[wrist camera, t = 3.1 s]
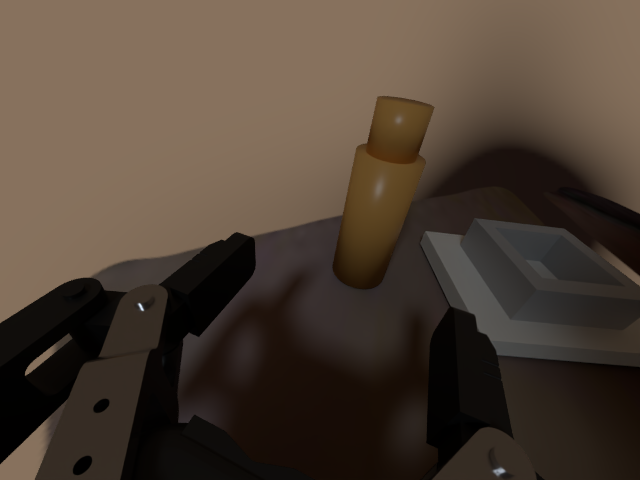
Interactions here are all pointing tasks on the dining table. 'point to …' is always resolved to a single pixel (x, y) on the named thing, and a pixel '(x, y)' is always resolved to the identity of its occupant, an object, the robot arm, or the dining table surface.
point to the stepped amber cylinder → (381, 190)
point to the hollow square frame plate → (539, 292)
